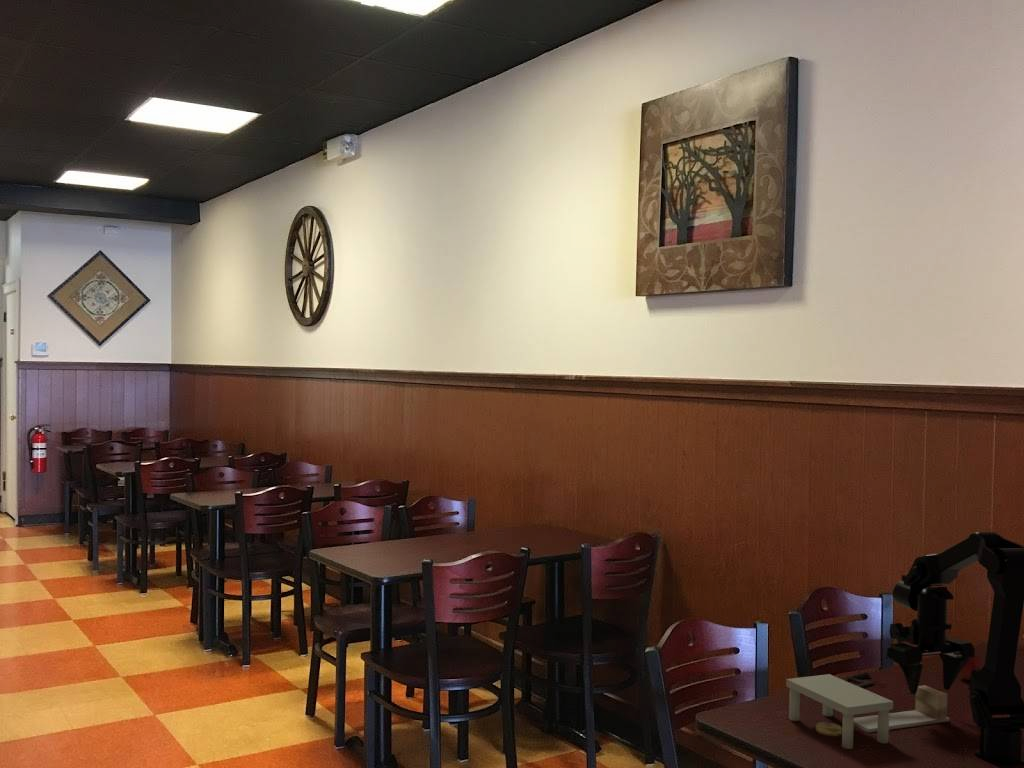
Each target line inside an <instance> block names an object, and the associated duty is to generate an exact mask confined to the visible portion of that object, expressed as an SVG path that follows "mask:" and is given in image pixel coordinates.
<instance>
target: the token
mask: <svg viewBox="0 0 1024 768" xmlns="http://www.w3.org/2000/svg"><path fill="white" fill-rule="evenodd" d="M815 731H816V732H817V733H818V734H820V735H823V736H828V737H840V736H842V726H841V725H839V724H837V723H833V722H828V721H827V722H826V721H821V722H817V723H816V724H815Z"/></svg>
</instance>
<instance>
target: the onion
mask: <svg viewBox="0 0 1024 768" xmlns="http://www.w3.org/2000/svg"><path fill="white" fill-rule="evenodd" d="M969 659H970V661H969V662H967V663H966V664H965V666H964V667H963V668H962V670H961V671H960V673H959V674H958V675H960V676H961V677H962V678H963V679H964V680H968V681H969V680H971V673H972V671H973V670H977V669H981V668H982V667H981V660H980V657H978V655H977V654H976V653H975V652H974V657H970V658H969Z"/></svg>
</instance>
